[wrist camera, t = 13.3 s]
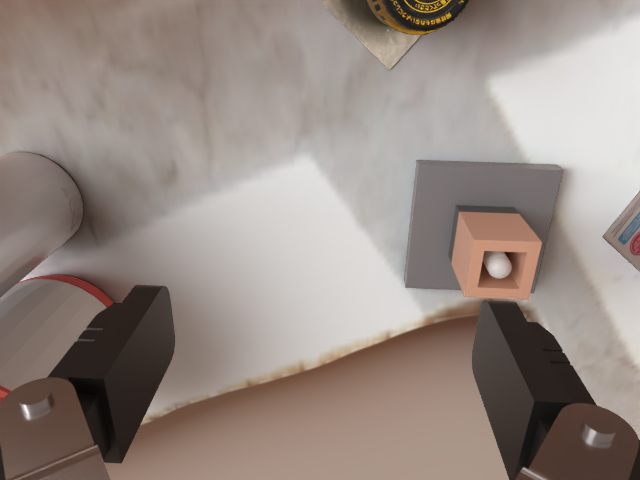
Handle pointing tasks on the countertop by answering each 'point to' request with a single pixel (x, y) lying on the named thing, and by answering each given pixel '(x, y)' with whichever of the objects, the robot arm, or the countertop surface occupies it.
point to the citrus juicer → (43, 325)
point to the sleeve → (493, 235)
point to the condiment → (393, 22)
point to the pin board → (473, 190)
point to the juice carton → (627, 233)
